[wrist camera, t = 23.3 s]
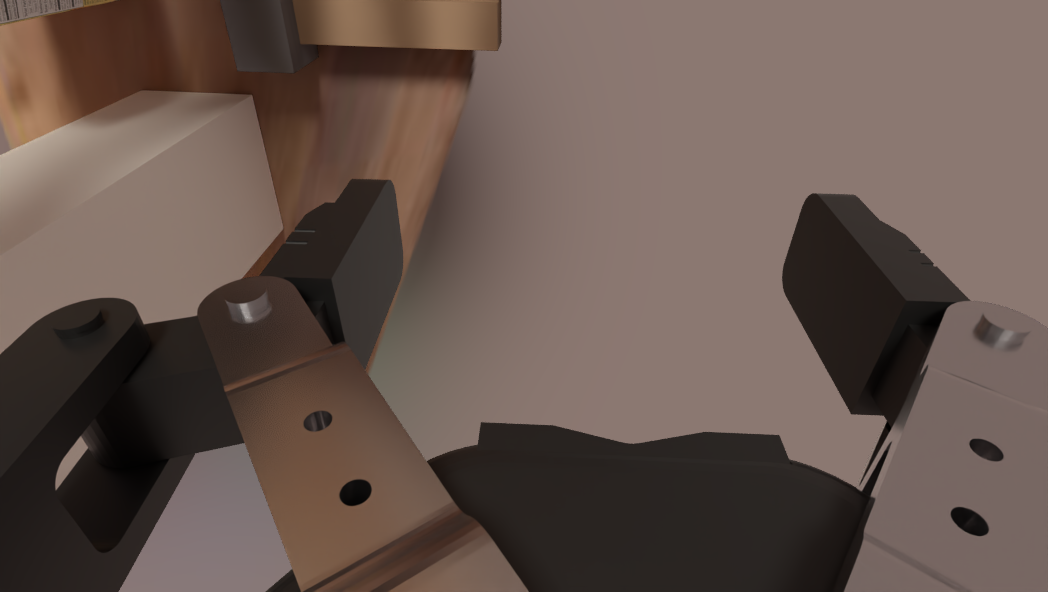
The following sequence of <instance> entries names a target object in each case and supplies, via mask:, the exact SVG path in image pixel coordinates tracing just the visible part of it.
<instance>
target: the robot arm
mask: <svg viewBox="0 0 1048 592" xmlns="http://www.w3.org/2000/svg"><path fill="white" fill-rule="evenodd" d="M920 251H921V250H920V249H919V248H918V247H917V246H916V245H915V244H914V243H913V242H912V241H911V240H910V239H909V238H908V237H907V236H906V235H905V234H903V233H901V232H899V231H898V230H896V229H894V228H892V227H891V226H889V225H887V224H885V223H883V222H882V221H880V220H879V219H878V218H877V217H876V216H875V215H874V214H873V213H872V212H871V211H870V210H869V209H868V208H867V206H866V205H865V204H864V203H863V202H862V201H861V200H860V199H859V198H858V197H856V196H855V195H847V194H846V195H845V194H811V195H809V196H808V198H807V199H806V200H805V202H804V204H803V206H802V209H801V212H800V216H799V219H798V222H797V225H796V228H795V231H794V234H793V237H792V241H791V244H790V247H789V250H788V253H787V257H786V259H785V263H784V267H783V276H782V281H783V289H784V292H785V295H786V297H787V299H788V301H789V302H790V304H791V306H792V308H793V310H794V311H795V313H796V315H797V317H798V319H799V320H800V322H801V324H802V326H803V328H804V330H805V331H806V333H807V335H808V337H809V339H810V340H811V342H812V344H813V346H814V348H815V349H816V351H817V353H818V355H819V357H820V358H821V360H822V362H823V364H824V366H825V368H826V369H827V371H828V373H829V375H830V376H831V378H832V380H833V382H834V384H835V386H836V387H837V389H838V391H839V393H840V395H841V397H842V398H843V400H844V402H845V404H846V406H847V407H848V409H849V411H850V413H851V414H858V415H859V414H860V415H882V416H884V417H885V418H886V420H887V421H886V423H885V425H884V426H883V428H882V430H881V432H880V434H879V436H878V438H877V440H876V442H875V445H874V447H873V450H872V451H871V454H870V456H869V459H868V461H867V463H866V465H865V467H864V470H863V472H862V474H861V477H860V479H859V481H858V484H857V486H856V487H854V486H852V485H851V484H849V483H847V482H845V481H843V480H841V479H839V478H837V477H835V476H833V475H831V474H829V473H826V472H824V471H822V470H819V469H817V468H815V467H812V466H808V465H806V464H803V463H800V462H797V461H793V460H789V458H788V456H787V454H786V451H785V448H784V446H783V443H782V441H781V438H780V436H779V435H763V434H739V433H715V432H702V433H696V434H691V435H685V436H679V437H673V438H668V439H661V440H656V441H650V442H645V443H637V444H628V443H622V442H618V441H614V440H610V439H605V438H602V437H598V436H593V435H589V434H585V433H582V432H578V431H574V430H569V429H565V428H561V427H557V426H553V425H529V424H506V423H482V422H481V427H480V433H479V440H478V445H474V446H469V447H464V448H461V449H457V450H454V451H450V452H447V453H445V454H442V455H440V456H437V457H435V458H432V459H430V460H428V461H426V460H425V458H424V457H423V455H422V454H421V452H420V451H419V450H418V448H417V446H416V445H415V444H414V442H413V441H412V439H411V438H410V436H409V435H408V433H407V432H406V430H405V429H404V427H403V426H402V424H401V423H400V421H399V420H398V418H397V417H396V415H395V414H394V412H393V411H392V409H391V408H390V406H389V405H388V404H387V402H386V401H385V399H384V398H383V396H382V395H381V393H380V392H379V390H378V389H377V387H376V386H375V384H374V383H373V381H372V380H371V378H370V377H369V375H368V374H367V373H366V371H365V369H366V366H367V363H368V361H369V358H370V356H371V353H372V351H373V348H374V346H375V343H376V341H377V338H378V336H379V333H380V331H381V328H382V325H383V323H384V320H385V318H386V315H387V313H388V310H389V308H390V305H391V303H392V300H393V298H394V295H395V292H396V290H397V287H398V285H399V282H400V280H401V276H402V269H403V248H402V240H401V233H400V225H399V217H398V209H397V201H396V194H395V189H394V185H393V183H392V181H391V180H371V179H352V180H351V181H350V182H349V183H348V185H347V186H346V188H345V189H344V191H343V192H342V193H341V195H340V196H339V198H338V199H337V201H336V202H335V203H324V204H322V205H321V206H319V207H317V208H316V209H314V210H312V211H311V212H309V213H307V214H306V215H305V216H304V217H303V219H302V220H301V221H300V223H299V224H298V225H297V227H296V228H295V232H292V233H291V234H290V236H289V237H288V238H287V240H286V244H283V245H282V246H281V248H280V249H279V250H278V252H277V253H276V254H275V256H274V257H273V258H272V260H271V261H270V262H269V264H268V265H267V266H266V267H265V269H264V270H263V271H262V273H261V274H260V275H259V276H256V277H249V278H244V279H240V280H236V281H233V282H230V283H228V284H225V285H223V286H221V287H219V288H217V289H216V290H214V291H213V292H211V293H210V294H209V295H207V296H206V297H205V298H204V299H203V301H202V302H201V303H200V305H199V307H198V310H197V316H192V317H186V318H180V319H173V320H167V321H161V322H154V323H148V324H144V323H143V321H142V319H141V317H140V315H139V313H138V311H137V309H136V307H135V306H134V304H132V303H131V302H129V301H127V300H124V299H120V298H96V299H90V300H85V301H80V302H77V303H73V304H70V305H68V306H65V307H62V308H60V309H58V310H55V311H53V312H51V313H49V314H48V315H46V316H44V317H42V318H41V319H39V320H38V321H36V322H35V323H34V324H33V325H32V326H30V327H29V328H28V329H27V330H26V331H25V332H24V333H23V334H22V335H21V336H19V337H18V338H17V339H16V340H15V341H14V342H13V343H12V344H11V345H10V346H9V347H8V348H6V349H5V350H4V351H3V352H2V353H1V354H0V592H118V591H119V590H120V588H121V586H122V584H123V582H124V581H125V579H126V577H127V575H128V574H129V572H130V570H131V568H132V566H133V565H134V563H135V561H136V559H137V557H138V556H139V554H140V552H141V550H142V548H143V547H144V545H145V543H146V541H147V539H148V537H149V536H150V534H151V532H152V530H153V529H154V527H155V525H156V523H157V521H158V520H159V518H160V516H161V514H162V512H163V511H164V509H165V507H166V505H167V504H168V502H169V500H170V498H171V496H172V494H173V493H174V491H175V489H176V487H177V486H178V484H179V482H180V480H181V478H182V476H183V475H184V473H185V471H186V469H187V468H188V466H189V464H190V462H191V460H192V459H193V457H194V455H195V453H199V452H203V451H209V450H213V449H218V448H223V447H227V446H232V445H237V444H241V443H245V445H246V447H247V450H248V453H249V456H250V458H251V461H252V464H253V466H254V469H255V471H256V474H257V477H258V479H259V482H260V485H261V487H262V490H263V493H264V495H265V498H266V501H267V503H268V506H269V508H270V511H271V514H272V516H273V519H274V522H275V524H276V527H277V530H278V532H279V535H280V537H281V540H282V543H283V545H284V548H285V551H286V553H287V556H288V559H289V561H290V563H291V566H292V570H290V571H289V572H288V573H287V574H286V575H285V576H283V577H282V578H281V579H280V580H279V581H278V582H276V583H275V584H274V585H273V586H272V587H271V588H269V589H268V590H267V591H266V592H1048V328H1047V327H1046V326H1044V325H1043V324H1041V323H1040V322H1038V321H1036V320H1035V319H1033V318H1031V317H1029V316H1027V315H1025V314H1023V313H1021V312H1018V311H1016V310H1013V309H1010V308H1007V307H1004V306H1000V305H996V304H992V303H987V302H980V301H970V300H969V299H968V298H967V297H966V296H965V295H964V294H963V293H962V292H961V291H960V290H959V289H958V288H957V287H956V286H955V285H954V284H953V283H952V282H951V281H950V280H949V279H948V277H947V276H946V275H945V274H944V273H942V271H941V270H940V269H939V268H938V267H933V262H932V261H931V260H930V259H929V258H928V257H927V256H926V255H925V254H924V253H920ZM80 436H81V437H82V439H83V440H84V442H85V444H86V445H87V447H88V449H87V450H86V451H85V453H84V454H83V455H82V457H81V458H80V459H79V460H78V462H77V463H76V464H75V466H74V467H73V468H72V470H71V471H70V472H69V474H68V475H67V476H66V478H65V479H64V480H63V482H62V483H61V484H60V486H59V487H58V488H57V490H56V488H55V481H56V475H57V471H58V468H59V466H60V464H61V462H62V460H63V459H64V457H65V456H66V454H67V453H68V452H69V451H70V449H71V448H72V447H73V445H74V444H75V443H76V442H77V440H78V439H79V438H80Z"/></svg>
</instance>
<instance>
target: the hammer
mask: <svg viewBox="0 0 1048 592" xmlns="http://www.w3.org/2000/svg"><path fill="white" fill-rule="evenodd" d="M220 3H221V7H222V11H223V15H224V19H225V23H226V27H227V31H228V35H229V39H230V43H231V47H232V51H233V55H234V59H235V63H236V67H237V71H246V72H274V73H295V72H297V71H298V70H300V69H301V68H303V67H304V66H306V65H307V64H309V63H310V62H312V61H313V60H315V59H316V58H318V57H319V56H318V50H317V45H341V46H370V47H400V48H429V49H458V50H487V51H489V50H490V51H498V49H499V46H500V44H501V0H220Z"/></svg>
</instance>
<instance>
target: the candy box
mask: <svg viewBox="0 0 1048 592" xmlns="http://www.w3.org/2000/svg"><path fill="white" fill-rule="evenodd" d="M113 1H118V0H0V26H1V25H5V24H10V23H15V22H19V21H24V20H28V19H33V18H38V17H43V16H47V15H52V14H57V13H62V12H67V11H70V10H75V9H80V8H84V7H89V6H95V5H99V4H104V3H109V2H113Z"/></svg>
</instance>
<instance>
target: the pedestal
mask: <svg viewBox="0 0 1048 592" xmlns="http://www.w3.org/2000/svg"><path fill="white" fill-rule="evenodd" d="M283 229H284V228H283V224H282V219H281V215H280V211H279V207H278V202H277V198H276V194H275V190H274V186H273V181H272V177H271V173H270V169H269V164H268V160H267V156H266V152H265V147H264V143H263V139H262V135H261V130H260V126H259V122H258V118H257V114H256V109H255V105H254V101H253V97H252V95H247V94H223V93H199V92H174V91H150V90H141V91H139V92H136V93H134V94H132V95H130V96H128V97H126V98H123V99H121V100H119V101H117V102H115V103H113V104H110V105H108V106H106V107H104V108H102V109H100V110H97V111H95V112H93V113H91V114H89V115H87V116H84V117H82V118H80V119H78V120H76V121H74V122H71V123H69V124H67V125H65V126H63V127H60V128H58V129H56V130H54V131H52V132H50V133H47V134H45V135H43V136H41V137H39V138H37V139H34V140H32V141H30V142H28V143H26V144H24V145H21V146H19V147H17V148H15V149H13V150H11V151H8V152H6V153H4V154H2V155H0V354H1V353H2V352H3V351H4V350H5V349H6V348H8V347H9V346H10V345H11V344H12V343H13V342H14V341H15V340H16V339H17V338H18V337H19V336H21V335H22V334H23V333H24V332H25V331H26V330H27V329H28V328H29V327H30V326H32V325H33V324H34V323H35V322H36V321H38V320H39V319H41V318H42V317H44V316H46V315H48V314H49V313H51V312H53V311H55V310H58V309H60V308H62V307H65V306H68V305H70V304H73V303H77V302H80V301H85V300H90V299H96V298H120V299H124V300H127V301H129V302H131V303H132V304H134V306H135V307H136V309H137V311H138V313H139V315H140V317H141V319H142V321H143V323H144V324H148V323H154V322H161V321H167V320H173V319H180V318H186V317H192V316H197V310H198V307H199V305H200V303H201V302H202V301H203V299H204V298H205V297H206V296H207V295H209V294H210V293H211V292H213V291H214V290H216V289H217V288H219V287H221V286H223V285H225V284H228V283H230V282H233V281H236V280H240V279H242V278H243V276H244V275H245V274H246V273H247V272H248V271H249V269H250V268H251V267H252V266H253V265H254V263H255V262H256V261H257V260H258V259H259V257H260V256H261V255H262V254H263V253H264V251H265V250H266V249H267V248H268V247H269V245H270V244H271V243H272V242H273V241H274V240H275V238H276V237H277V236H278V235H279V234H280V232H281V231H282V230H283ZM87 449H88V447H87V445H86V444H85V442H84V440H83V439H82V437H81V436H80V438H79V439H78V440H77V442H76V443H75V444H74V445H73V447H72V448H71V449H70V451H69V452H68V453H67V454H66V456H65V457H64V459H63V460H62V462H61V464H60V466H59V468H58V471H57V475H56V481H55V488H56V490H57V488H58V487H59V486H60V484H61V483H62V482H63V480H64V479H65V478H66V476H67V475H68V474H69V472H70V471H71V470H72V468H73V467H74V466H75V464H76V463H77V462H78V460H79V459H80V458H81V457H82V455H83V454H84V453H85V451H86V450H87Z"/></svg>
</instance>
